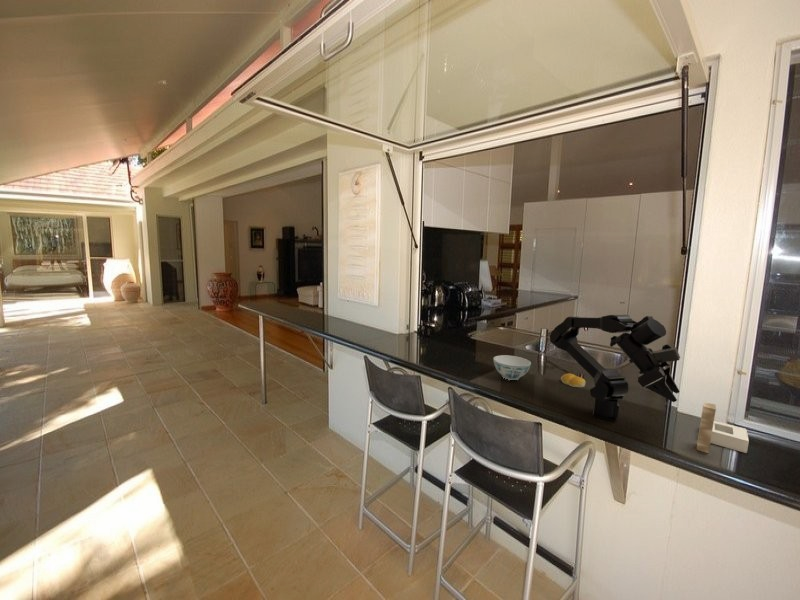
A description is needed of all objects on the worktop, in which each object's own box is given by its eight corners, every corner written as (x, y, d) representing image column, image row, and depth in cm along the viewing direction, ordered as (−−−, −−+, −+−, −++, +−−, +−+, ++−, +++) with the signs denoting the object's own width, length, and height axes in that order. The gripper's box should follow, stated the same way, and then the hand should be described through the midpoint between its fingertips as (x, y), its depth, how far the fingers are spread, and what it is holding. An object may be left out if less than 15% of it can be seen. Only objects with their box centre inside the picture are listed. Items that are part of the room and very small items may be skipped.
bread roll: (577, 389, 141) (578, 379, 140) (557, 382, 149) (558, 372, 148) (589, 386, 145) (591, 376, 145) (569, 379, 153) (570, 370, 152)
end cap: (699, 439, 104) (701, 428, 103) (700, 428, 111) (701, 417, 111) (746, 453, 97) (748, 441, 97) (744, 440, 105) (746, 428, 104)
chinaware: (533, 377, 152) (534, 360, 151) (523, 387, 140) (525, 368, 139) (498, 369, 160) (500, 353, 159) (487, 378, 148) (488, 360, 147)
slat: (696, 449, 98) (703, 406, 96) (697, 443, 101) (703, 401, 100) (708, 453, 96) (715, 409, 95) (708, 447, 100) (715, 404, 98)
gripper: (658, 341, 96) (705, 392, 90) (665, 332, 110) (706, 375, 104) (620, 362, 102) (662, 411, 96) (632, 351, 116) (669, 393, 110)
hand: (676, 396), depth 102 cm, fingers open, 9 cm apart
